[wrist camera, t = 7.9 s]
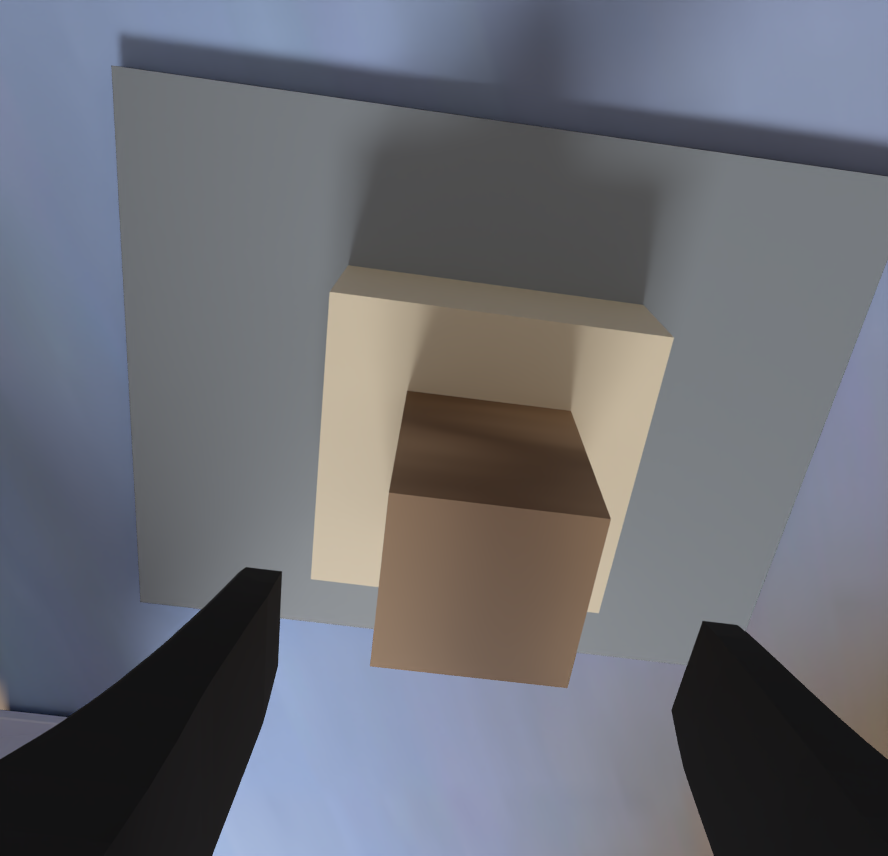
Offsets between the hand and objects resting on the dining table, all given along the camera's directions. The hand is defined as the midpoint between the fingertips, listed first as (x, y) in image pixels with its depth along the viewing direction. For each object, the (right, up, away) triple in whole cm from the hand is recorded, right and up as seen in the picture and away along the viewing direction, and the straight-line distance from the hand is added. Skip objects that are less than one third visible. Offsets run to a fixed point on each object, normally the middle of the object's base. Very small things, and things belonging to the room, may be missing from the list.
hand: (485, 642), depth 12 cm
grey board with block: (0, +4, +9) cm, 10 cm away
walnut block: (0, +3, +6) cm, 6 cm away
